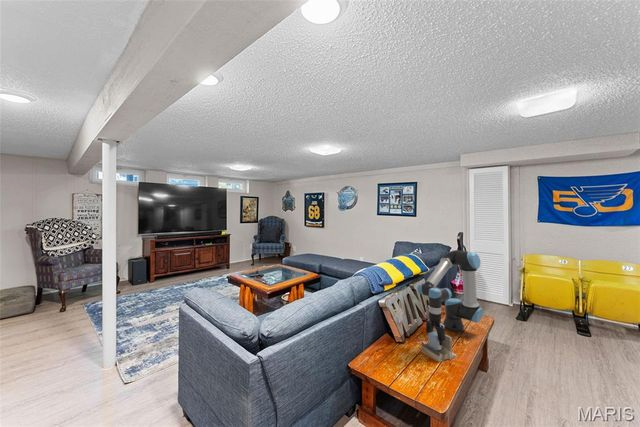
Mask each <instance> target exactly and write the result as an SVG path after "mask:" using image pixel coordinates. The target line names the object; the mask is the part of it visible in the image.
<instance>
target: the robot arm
mask: <svg viewBox="0 0 640 427" xmlns="http://www.w3.org/2000/svg"><path fill="white" fill-rule="evenodd" d="M480 258H481V257H480V255H478V253H477V252H473V251H465V250H456V249H455V250H451V251H448V252H446V253H445V254H444V255H442V257H441V258H440V259H439V262H438V264H437V265H436V267H435V269H434V270H433V271H432V272H431V273H430V275H429V276H428V278H427V279H426V280H425V282H424V283H419V284H418V285H417V287H416V290H417V292H418V293H419V294H420V295H423V296H426V297H428V317H426V318H425V323H426V324H425V333H426V334H428V333H430V332H433V328H434V329H436V330H437V334H438V339H439V340H438V350H441V349H442V341H444V340H445V334H446V331H445V330H448V331H451V332H455V333H461V332H464V331H465V326H464V323H463V321H462V320H463V319H464V320H466V321H470V322H472V323H477V324H478V323H479V322H481V321H482V319H483V316H484V309H483V308H482V307H480V303H479V302H478V297H477V295H478V294H477V284H476V282H477V280H476V272H477V271H478V269H479V268H480V266H481V259H480ZM453 266H457V267H459V270H460V271H461V273H462V274H461V276H462V289H463V291H462V292H463V301H462V299H460V298H452V295H453V293H452V291H451V290H450V289H449V288H448V287H443V288H440V287H437V286H438V285H439V283H440V282H441V281H442V279H443V277H444V276H445V275H446V274H447V272H448V270H449V269H450V268H452V267H453ZM443 302H444V303H445V305H444V306H445V307H444V308H445V318H444V320H443V322H442V303H443Z"/></svg>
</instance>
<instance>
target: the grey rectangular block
mask: <svg viewBox="0 0 640 427" xmlns="http://www.w3.org/2000/svg"><path fill="white" fill-rule="evenodd" d="M427 335H428V336H427V337H428V339H427V340H428V343H429V347H431V348H432V349H434V350H436V351H437V350H438V340H439V339H438V334H437V332H436V331H433V332H430V333H427ZM442 348H443V347H442Z"/></svg>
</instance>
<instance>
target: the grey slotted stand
mask: <svg viewBox="0 0 640 427" xmlns="http://www.w3.org/2000/svg"><path fill="white" fill-rule="evenodd" d="M433 331H436V332H437V330H436V329H435V327H434V328H433ZM452 339H453V337H451V336H450V335H448V334H446V333H445V340H444V341H442V347H443V348H442V349H441V350H437V351H436V350H434V349H432V348H431V347H429V342H428V343H426V344H425V343H424V342H421V352H422V353H423V354H425V355H426V356H427V357H430V358H431V359H432V360H434V361H436V362H437V363H441V362H442V363H443V362H444V361H446V360H453V359H456V358H458V355H457V354H456V353H454V352H453V348H452V347H453V346H452V345H453V342H452V341H453V340H452Z"/></svg>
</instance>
